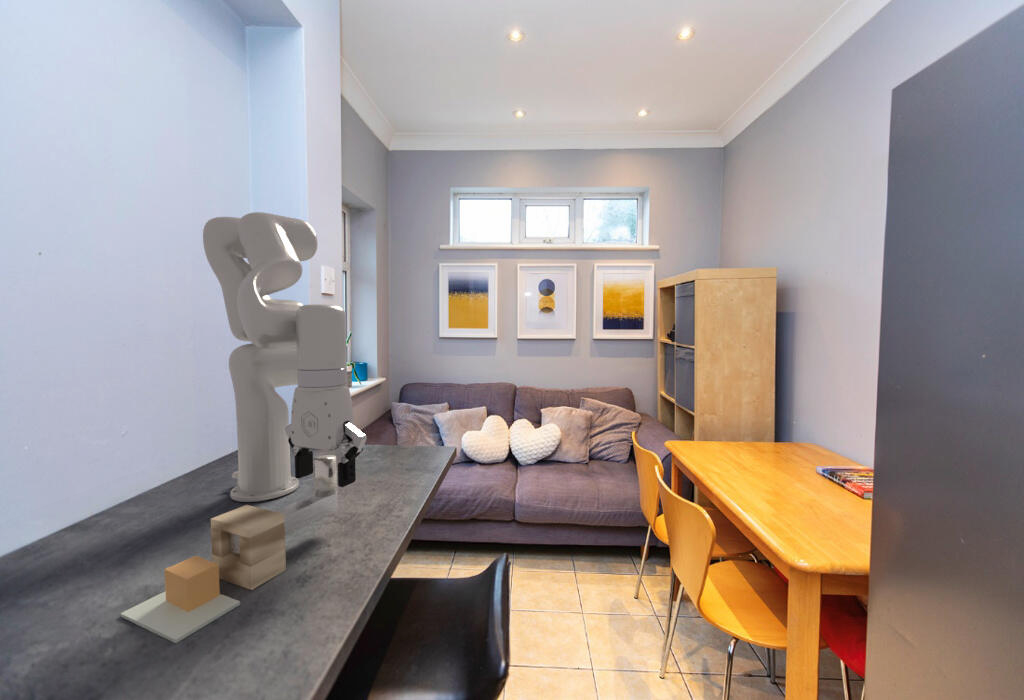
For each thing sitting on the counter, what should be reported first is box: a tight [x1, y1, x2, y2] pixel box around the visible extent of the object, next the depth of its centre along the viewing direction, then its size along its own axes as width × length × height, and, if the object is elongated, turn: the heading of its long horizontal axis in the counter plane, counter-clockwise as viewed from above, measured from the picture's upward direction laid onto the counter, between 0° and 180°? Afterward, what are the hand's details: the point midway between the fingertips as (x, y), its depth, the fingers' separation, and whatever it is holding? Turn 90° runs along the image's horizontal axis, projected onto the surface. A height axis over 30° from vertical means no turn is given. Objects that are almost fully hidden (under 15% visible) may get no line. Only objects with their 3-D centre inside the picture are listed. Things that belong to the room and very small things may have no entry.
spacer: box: [164, 555, 221, 612], centre depth 52 cm, size 5×4×4 cm
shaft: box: [230, 454, 339, 555], centre depth 64 cm, size 3×17×9 cm, turn 156°
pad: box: [120, 591, 241, 644], centre depth 51 cm, size 11×7×1 cm, turn 66°
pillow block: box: [210, 504, 287, 591], centre depth 58 cm, size 8×5×8 cm, turn 66°
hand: (325, 480), depth 71 cm, fingers open, 9 cm apart
